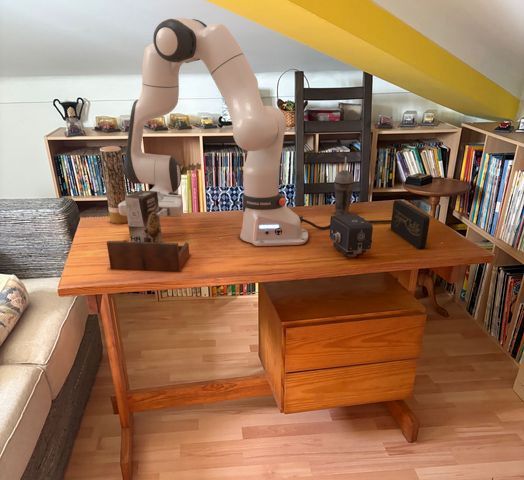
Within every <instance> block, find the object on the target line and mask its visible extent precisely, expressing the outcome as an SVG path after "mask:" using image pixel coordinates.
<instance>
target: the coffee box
mask: <svg viewBox="0 0 524 480" xmlns="http://www.w3.org/2000/svg"><path fill="white" fill-rule="evenodd" d="M125 203H126V211H127V219H128V222H127V225H128V233H129V240H130V241H129V242H154V241H156V242H158V243H164V241H163V232H162V225H161V224H162V222H161V219H160V218H156V215H155V213H156V212H157V211H159V204H158V194H157V192H156V191H149V190H141V189H140V190H138V191H135V192H133V193H131V194H128V195H127V196H126V197H125Z"/></svg>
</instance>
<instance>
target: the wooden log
mask: <svg viewBox="0 0 524 480" xmlns="http://www.w3.org/2000/svg"><path fill="white" fill-rule="evenodd" d="M99 154H100V160H101V167H102V175H103V180H104V186H105V194H106V200H107V207H108V214H109V221H110V222H111V223H112V224H117V225H122V224H126V223H128V219H127V216H122V215H120V213H119V208H118V205H119V203H121V202H123V201H124V200H125V197H126V196H128V195H127V186H126V177H125V175H124V169H123V167H124V161H123V156H122V155H123V154H122V148H121V147H120V146H116V145H109V146H108V145H107V146H102V147H99Z"/></svg>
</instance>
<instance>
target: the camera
mask: <svg viewBox="0 0 524 480" xmlns="http://www.w3.org/2000/svg"><path fill="white" fill-rule="evenodd" d="M329 222H330V223H329V225H330V228H329V235H328V236H329V238H330V240H331V241H332V242H333V246H334V247H335V248H336V249H338V250H339V251H340V252H341V253H342V254H344V255H346V256H347V257H352V258H354V257H357V255H361V254H366V253H367V251H370V250H371V249H372V244H373V230H374V227H373V223H370V222H368V221H366V218H365V216H363V215H361V216H360V215H358V214H357V213H348V214H344V215H343V214H342V215H337V214H335V215H330V221H329Z"/></svg>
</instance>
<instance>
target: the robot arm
mask: <svg viewBox="0 0 524 480" xmlns="http://www.w3.org/2000/svg"><path fill="white" fill-rule="evenodd" d="M152 41H153V43H151V44H149V45H147V46H146V47H145V49H144V52H143V57H142V68H141V69H142V70H141V71H142V72H141V82H142V83H141V85H142V86H141V88H142V89H141V92H140V96H139V97H138V99H136V100H134V101H133V104H132V106H131V110H130V116H129V124H128V133H127V140H126V141H127V142H126V150H125V156H124V160H123V170H124V177H125V179H127V180H128V181H129V182H130V183H131V184H135V185H136V184H138V185H139V184H140V185H143V184H145V185H153V187H152V188H151V189H149V190H148V191H156V192H157V194H158V204H159V211H157V212H156V213H155V215H156V218H160V220H161V219H162V218H181V217H182V216H183V215H184V203H183V196H182V194H181V193H179V188H180V187H181V184H182V183H181V182H182V169H181V165H180V163H179V161H178V160H177V158H175V157H174V156H173V155H167V154H154V153H147V152H143V151H142V142H143V135H144V127H145V125H146V123H148V122H149V121H152V120H154V119H158V118H161V117H164V116H166V115H168V114H170V113H171V112H173V110H175V108H176V107H177V105H178V103H179V96H180V95H179V94H180V79H179V78H180V76H179V75H180V69H181V66H182V65H183V64H184V63H185V64H188V63H193V62H197V61H200V60H201V61H202V62H203V64H204V65H205V67H206V69H207V70H208V72H209V75H210V76H211V78H212V80H213V81H214V83H215V85H216V88H217V89H218V91H219V93H220V95H221V96H222V98H223V101H224V102H225V105H226V109H227V111H228V115H229V117H230V121H231V124H232V136H233V140H234V142H235V144H236V145H237V146H238V147H239V148H240V149H242V150H244V151H246V152H247V154H246V159H245V162H244V165H243V193H242V196H241V197H242V198H241V199H242V200H241V202H242V211H243V217H242V224H241V230H240V233H239V238H240V239H241V240H242V241H244V242H247V243H250V244H252V245H254V246H256V247H275V246H277V247H279V246H301V245H305V243H308V241H309V232H308V231H307V230H306V229H304V228H303V225H302V224H303V223H306V224H308V225H310V226H312V227H314V228H315V229H318V230H328V229H330V224H328V225H326V226H319V225H317V224H315V223H313V222H312V221H311V220H307V219H305V218H304V217H303V216H304V215H302V214H297V213H295V212H294V211H293V210H291V209H290V208H289V207H288V206H286V202H287V199H286V196H285V193H283V194H282V193H281V192H280V164H281V158H282V153H283V147H284V139H285V133H286V130H287V125H288V123H287V118H286V116H285V114H284V112H283V111H282V110H281V109H280V108H277V107H275V106H272V105H264V103H263V100H262V97H261V93H260V89H259V81H258V79H257V76H256V75H255V72H254V71H253V69H252V67H251V65H250V63H249V61H248V59H247V58H246V57H247V56H245V54H244V52H243V50H242V48H241V46H240V45H239V43H238V41H237V40H236V38H235V37H234V35H233V34H232V33H231V32H230V30H229V29H228V28H227V27H226V25H225V24H223V23H220V22H216V23H211V24H209V25H207V24H205V22H203V21H201V20H199V19H195V18H193V19H191V18H186V17H177V18H168V19H165V20H162V21H161V22H160V23H159V24H158V25H157V26H156V27H155V29H154V32H153V39H152ZM118 208H119V213H120V215H122V216H127V211H126V203H125V200H124V201H123V202H121V203H119V205H118ZM365 220H366V219H365ZM366 221H368V222H370V223H371V224H383V223H384V224H388V223H390V224H391V219H377V220H375V219H374V220H373V219H370V220H369V219H368V220H366Z"/></svg>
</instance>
